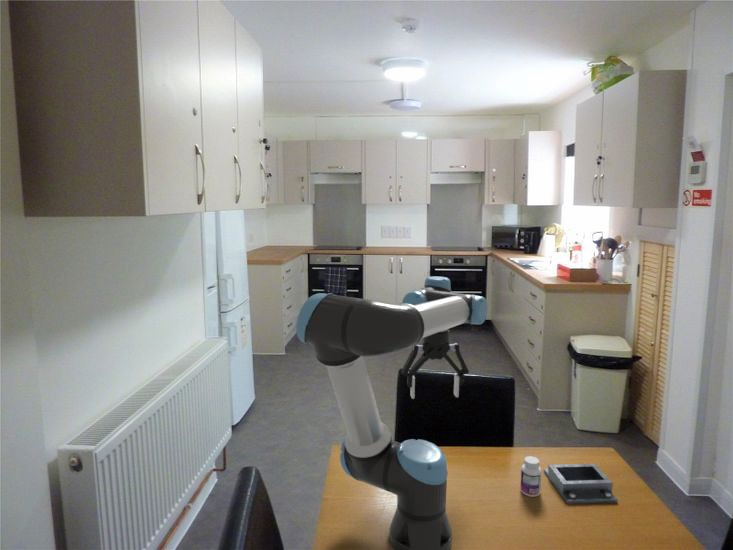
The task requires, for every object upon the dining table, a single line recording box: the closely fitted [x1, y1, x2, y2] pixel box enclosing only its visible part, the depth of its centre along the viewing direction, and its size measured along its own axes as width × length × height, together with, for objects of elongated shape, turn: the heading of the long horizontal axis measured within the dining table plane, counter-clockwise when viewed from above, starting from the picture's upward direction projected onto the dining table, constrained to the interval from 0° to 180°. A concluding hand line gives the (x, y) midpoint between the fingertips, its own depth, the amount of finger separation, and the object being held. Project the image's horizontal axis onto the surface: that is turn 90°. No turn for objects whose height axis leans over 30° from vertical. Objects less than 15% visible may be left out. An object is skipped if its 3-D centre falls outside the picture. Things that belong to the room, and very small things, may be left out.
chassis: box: [543, 463, 619, 505], centre depth 144 cm, size 16×14×4 cm
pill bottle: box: [519, 455, 542, 498], centre depth 140 cm, size 5×5×10 cm
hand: (434, 396), depth 152 cm, fingers open, 13 cm apart
